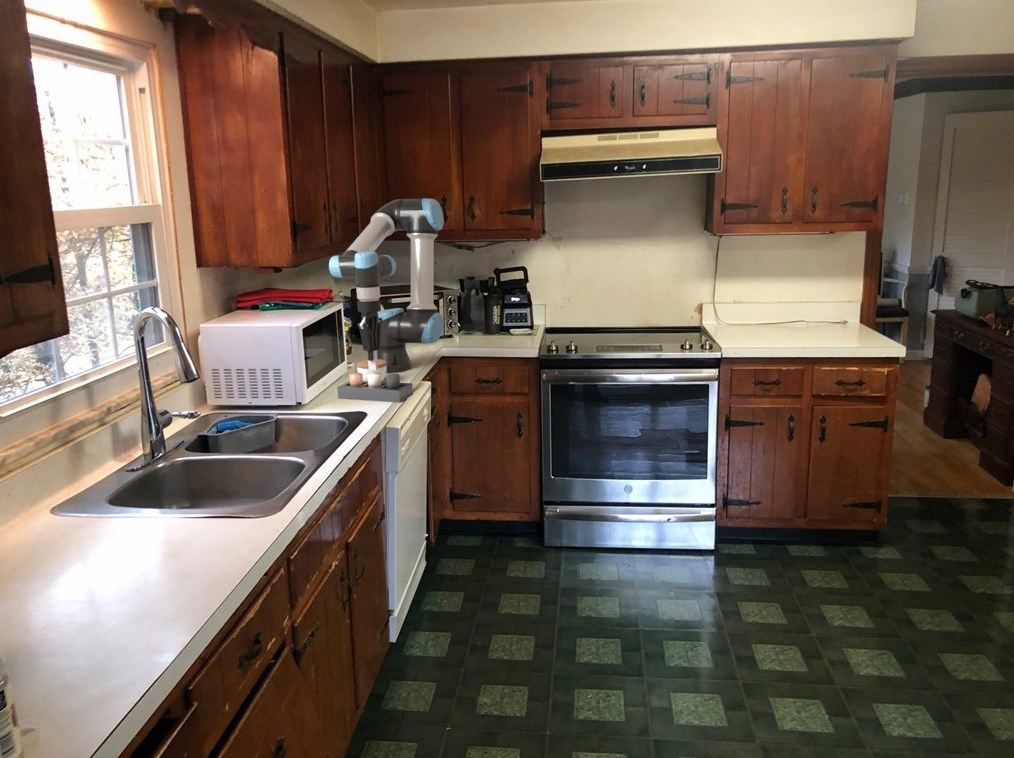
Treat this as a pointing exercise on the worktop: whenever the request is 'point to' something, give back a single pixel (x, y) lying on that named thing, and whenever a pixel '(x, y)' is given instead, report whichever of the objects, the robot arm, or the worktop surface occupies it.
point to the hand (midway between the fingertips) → (373, 369)
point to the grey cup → (393, 381)
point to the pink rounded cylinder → (356, 379)
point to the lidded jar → (364, 369)
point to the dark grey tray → (375, 392)
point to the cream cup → (374, 380)
